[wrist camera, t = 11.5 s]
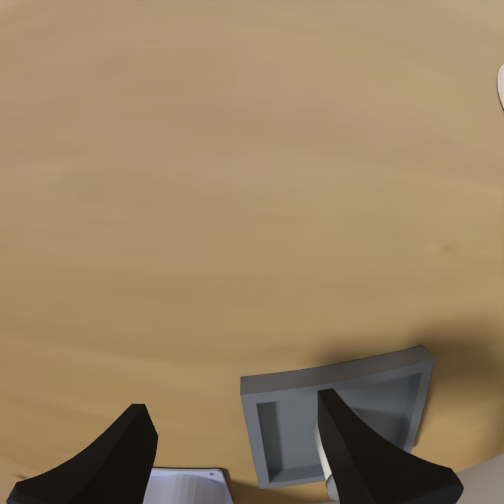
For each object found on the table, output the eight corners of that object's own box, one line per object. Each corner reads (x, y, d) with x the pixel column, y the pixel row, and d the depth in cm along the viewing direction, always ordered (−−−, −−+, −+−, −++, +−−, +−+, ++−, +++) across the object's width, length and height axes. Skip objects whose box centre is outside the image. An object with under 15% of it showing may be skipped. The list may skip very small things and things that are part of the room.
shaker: (311, 446, 25) (327, 506, 18) (310, 412, 24) (329, 477, 17) (360, 435, 25) (383, 491, 18) (364, 401, 24) (393, 460, 17)
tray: (259, 472, 27) (259, 489, 25) (240, 376, 23) (240, 394, 21) (401, 445, 27) (408, 459, 24) (422, 345, 23) (434, 358, 21)
